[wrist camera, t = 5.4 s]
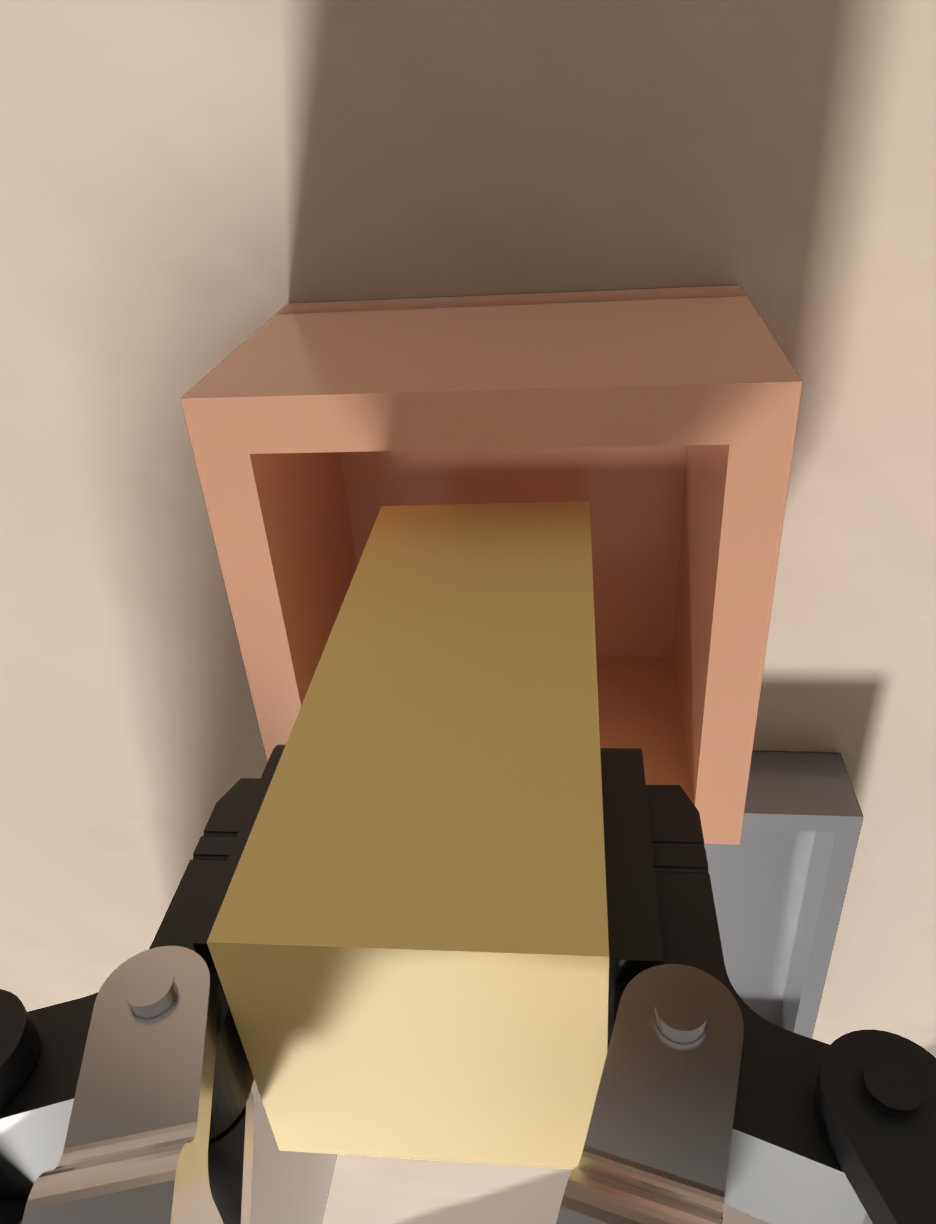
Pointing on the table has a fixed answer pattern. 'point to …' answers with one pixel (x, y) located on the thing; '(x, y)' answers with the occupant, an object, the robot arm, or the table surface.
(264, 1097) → the ochre block
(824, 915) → the grey tray
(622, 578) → the terracotta storage bin
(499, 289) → the table surface
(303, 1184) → the cylindrical container
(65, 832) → the table surface
